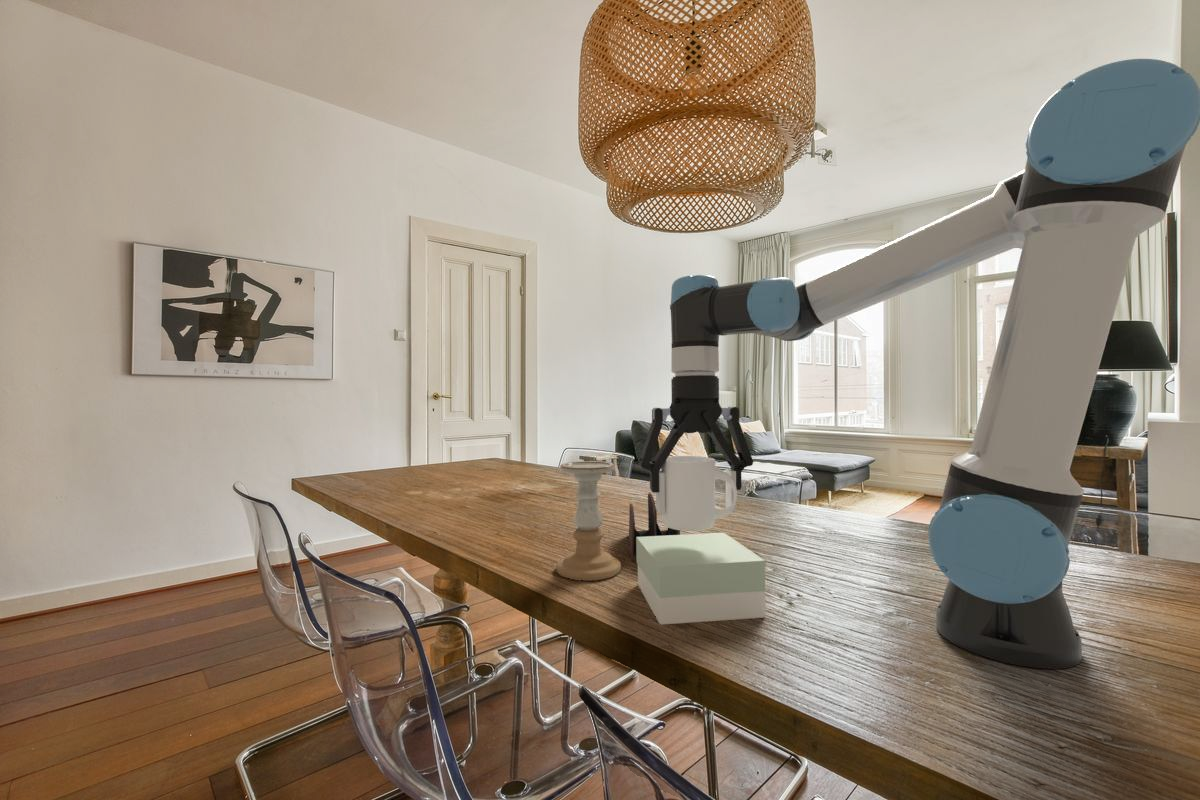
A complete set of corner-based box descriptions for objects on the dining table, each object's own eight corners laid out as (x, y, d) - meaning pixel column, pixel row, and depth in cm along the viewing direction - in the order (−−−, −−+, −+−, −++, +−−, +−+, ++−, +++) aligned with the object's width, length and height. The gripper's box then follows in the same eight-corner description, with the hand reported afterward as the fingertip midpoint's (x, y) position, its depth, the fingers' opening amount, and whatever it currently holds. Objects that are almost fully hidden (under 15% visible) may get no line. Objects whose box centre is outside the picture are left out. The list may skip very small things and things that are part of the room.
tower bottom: (765, 621, 77) (765, 591, 77) (660, 628, 75) (659, 597, 75) (725, 583, 93) (725, 558, 93) (637, 588, 91) (637, 562, 91)
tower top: (765, 590, 77) (764, 560, 77) (660, 597, 75) (659, 566, 75) (724, 557, 93) (723, 532, 93) (636, 562, 91) (636, 537, 91)
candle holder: (622, 581, 93) (621, 468, 92) (553, 582, 93) (552, 469, 92) (619, 559, 105) (618, 459, 105) (558, 560, 105) (557, 460, 105)
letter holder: (670, 535, 123) (670, 476, 123) (681, 562, 103) (680, 491, 103) (628, 535, 123) (628, 476, 123) (631, 562, 103) (630, 491, 103)
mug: (736, 535, 78) (736, 464, 78) (656, 529, 81) (656, 461, 81) (737, 522, 86) (737, 457, 86) (665, 517, 89) (665, 455, 89)
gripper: (755, 375, 88) (756, 504, 89) (619, 376, 86) (620, 508, 86) (774, 373, 81) (775, 514, 81) (626, 374, 78) (628, 519, 79)
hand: (696, 511), depth 84 cm, fingers closed on mug, 11 cm apart
